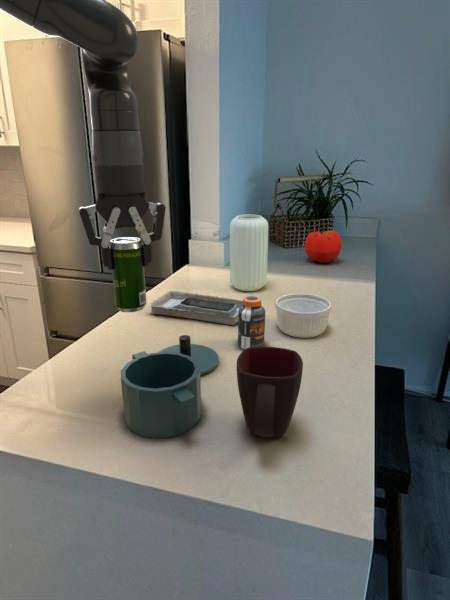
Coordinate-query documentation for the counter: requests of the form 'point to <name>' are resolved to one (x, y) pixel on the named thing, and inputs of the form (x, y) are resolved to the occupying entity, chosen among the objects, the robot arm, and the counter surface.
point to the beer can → (128, 274)
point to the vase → (248, 252)
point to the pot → (161, 394)
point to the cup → (268, 389)
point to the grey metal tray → (175, 306)
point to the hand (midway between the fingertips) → (127, 266)
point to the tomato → (323, 246)
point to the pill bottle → (251, 323)
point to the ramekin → (302, 314)
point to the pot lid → (195, 353)
